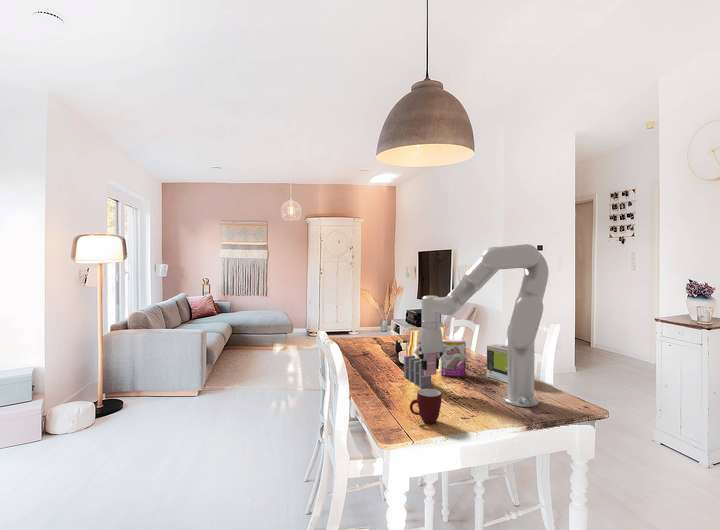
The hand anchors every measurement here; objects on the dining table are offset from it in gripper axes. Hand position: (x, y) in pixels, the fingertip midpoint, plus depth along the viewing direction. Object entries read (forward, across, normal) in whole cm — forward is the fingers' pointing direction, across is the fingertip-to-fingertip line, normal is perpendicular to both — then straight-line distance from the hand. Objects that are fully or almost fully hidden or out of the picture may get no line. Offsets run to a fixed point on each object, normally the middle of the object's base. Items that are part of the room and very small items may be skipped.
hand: (430, 368), depth 164 cm
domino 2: (+9, 0, -14) cm, 17 cm away
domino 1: (+9, 0, -19) cm, 21 cm away
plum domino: (+2, 0, 0) cm, 2 cm away
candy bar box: (+9, -21, -15) cm, 28 cm away
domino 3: (+9, 0, -9) cm, 13 cm away
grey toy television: (+9, -40, -1) cm, 41 cm away
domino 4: (+9, 0, -4) cm, 10 cm away
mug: (+9, +18, +28) cm, 34 cm away
